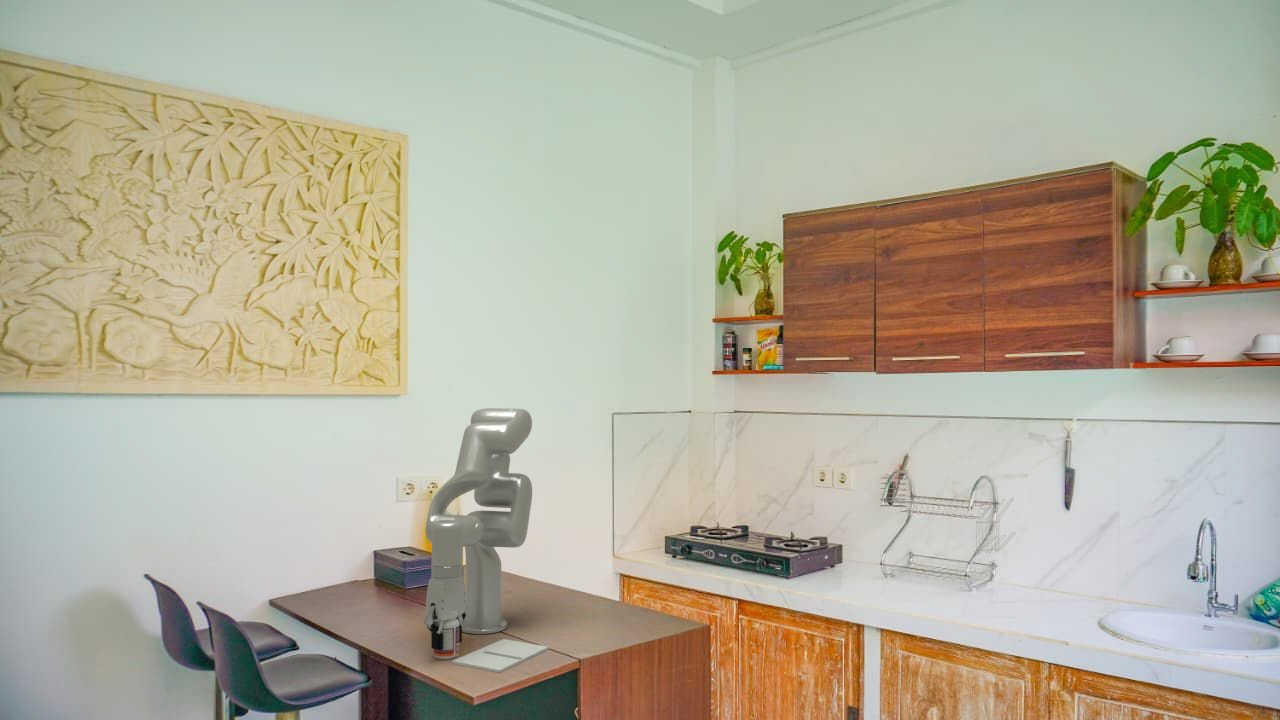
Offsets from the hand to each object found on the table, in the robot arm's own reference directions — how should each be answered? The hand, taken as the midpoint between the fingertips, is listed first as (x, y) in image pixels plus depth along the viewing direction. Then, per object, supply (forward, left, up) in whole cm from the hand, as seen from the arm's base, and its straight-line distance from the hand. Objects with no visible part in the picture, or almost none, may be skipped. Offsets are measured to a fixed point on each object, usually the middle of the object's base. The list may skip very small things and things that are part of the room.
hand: (446, 644), depth 222 cm
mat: (+12, +6, -3) cm, 14 cm away
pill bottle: (0, 0, -3) cm, 3 cm away
